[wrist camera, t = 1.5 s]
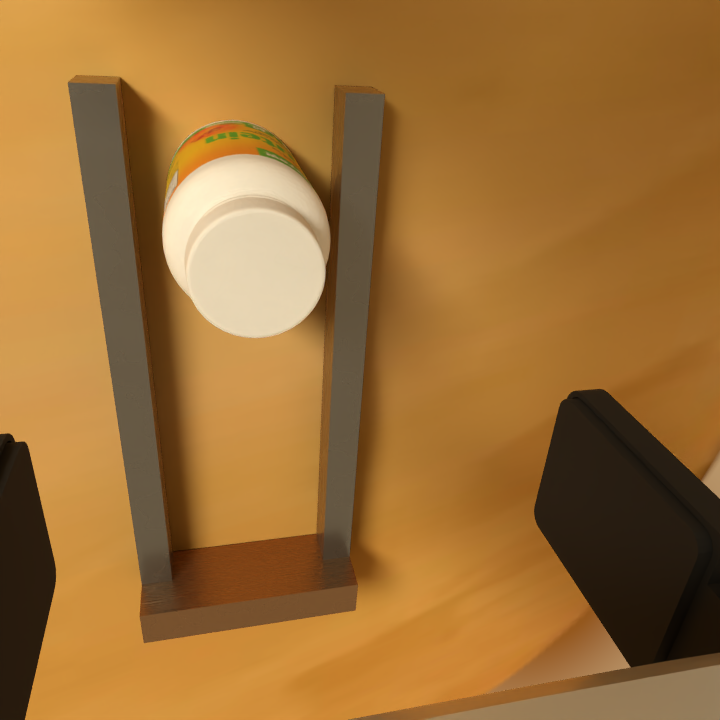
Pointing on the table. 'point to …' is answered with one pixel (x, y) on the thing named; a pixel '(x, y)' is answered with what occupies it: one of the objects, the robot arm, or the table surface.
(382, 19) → the table surface
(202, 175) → the supplement bottle
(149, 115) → the table surface
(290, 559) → the u-shaped frame
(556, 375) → the table surface
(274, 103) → the table surface
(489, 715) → the robot arm
